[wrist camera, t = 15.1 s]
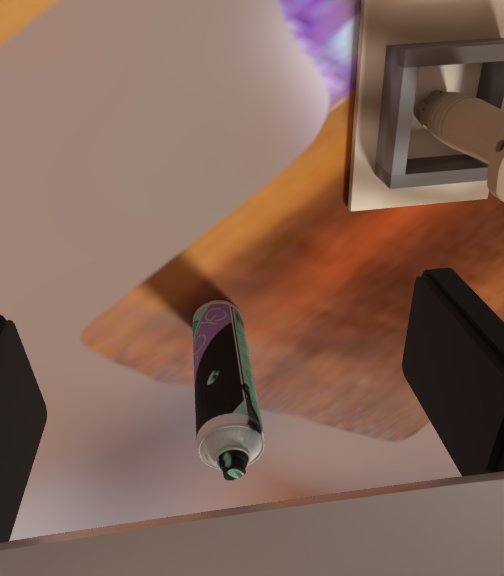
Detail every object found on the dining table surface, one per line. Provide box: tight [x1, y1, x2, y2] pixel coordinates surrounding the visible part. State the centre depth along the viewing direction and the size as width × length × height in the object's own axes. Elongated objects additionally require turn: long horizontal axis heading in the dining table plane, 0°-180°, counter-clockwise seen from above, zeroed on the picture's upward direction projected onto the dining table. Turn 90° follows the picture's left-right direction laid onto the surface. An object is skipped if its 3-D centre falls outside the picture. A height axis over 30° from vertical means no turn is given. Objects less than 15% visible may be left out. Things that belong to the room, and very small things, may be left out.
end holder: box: [348, 0, 504, 211], centre depth 42 cm, size 18×14×5 cm
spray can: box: [193, 300, 264, 480], centre depth 45 cm, size 6×6×20 cm
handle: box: [418, 90, 504, 202], centre depth 36 cm, size 5×6×15 cm
